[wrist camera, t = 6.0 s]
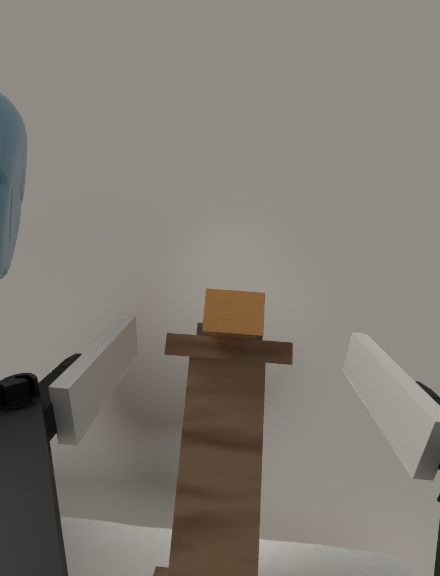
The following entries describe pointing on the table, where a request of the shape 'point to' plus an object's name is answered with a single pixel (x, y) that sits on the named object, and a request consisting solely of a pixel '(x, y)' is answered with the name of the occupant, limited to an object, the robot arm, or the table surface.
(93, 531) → the table surface
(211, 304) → the wood grain block
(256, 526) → the stand
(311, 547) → the table surface
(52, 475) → the robot arm
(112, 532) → the table surface
